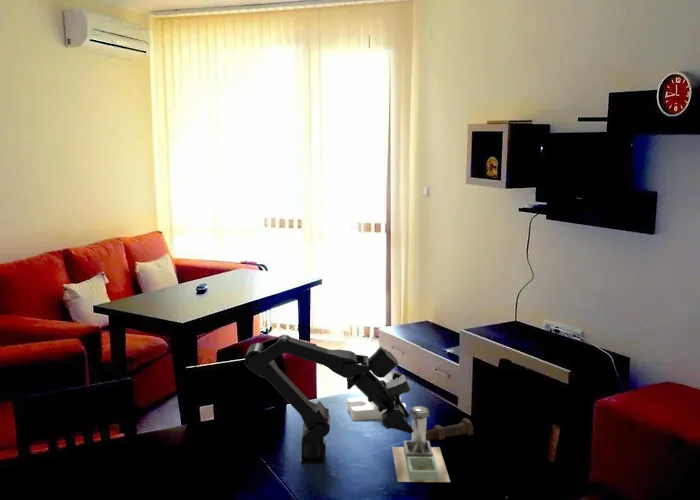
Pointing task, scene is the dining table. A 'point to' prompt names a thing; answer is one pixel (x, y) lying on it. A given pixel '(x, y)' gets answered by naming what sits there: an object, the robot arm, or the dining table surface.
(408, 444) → the holder
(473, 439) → the dining table surface
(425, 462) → the socket
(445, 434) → the bolt
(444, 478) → the dock board
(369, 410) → the u-slot stand
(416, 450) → the silver tall tapered cylinder
